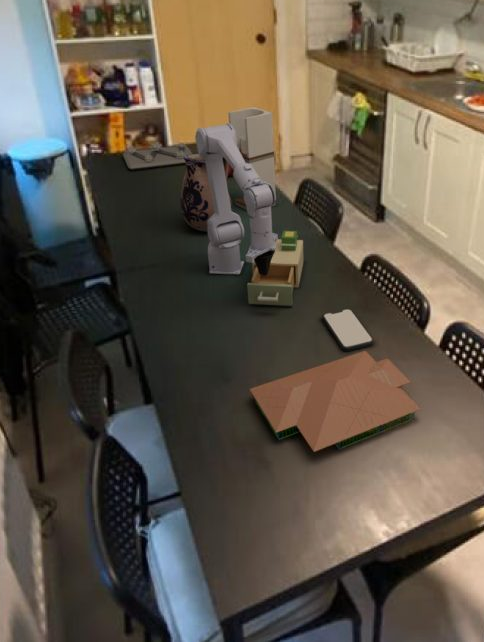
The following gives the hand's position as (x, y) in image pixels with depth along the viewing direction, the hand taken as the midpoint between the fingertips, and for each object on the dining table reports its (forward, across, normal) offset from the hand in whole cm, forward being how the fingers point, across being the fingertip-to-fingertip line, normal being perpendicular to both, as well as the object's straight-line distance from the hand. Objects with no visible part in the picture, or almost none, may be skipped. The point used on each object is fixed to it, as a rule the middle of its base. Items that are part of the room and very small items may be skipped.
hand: (263, 273), depth 156 cm
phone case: (+9, -4, -27) cm, 29 cm away
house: (+10, -32, -35) cm, 49 cm away
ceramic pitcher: (+9, +38, +42) cm, 57 cm away
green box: (+1, +20, +2) cm, 20 cm away
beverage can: (+9, +80, +64) cm, 103 cm away
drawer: (+8, +3, -1) cm, 9 cm away
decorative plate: (+9, +86, +100) cm, 132 cm away
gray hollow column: (+9, +60, +36) cm, 70 cm away
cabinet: (+9, +16, +4) cm, 19 cm away
